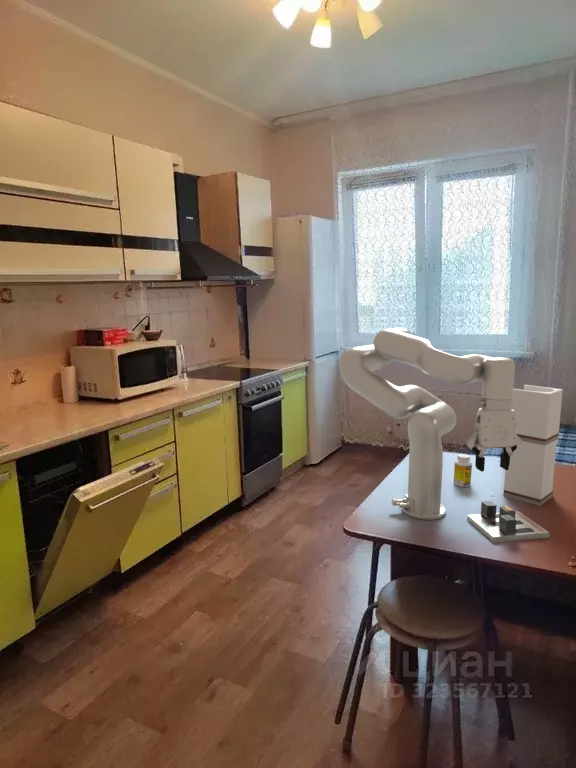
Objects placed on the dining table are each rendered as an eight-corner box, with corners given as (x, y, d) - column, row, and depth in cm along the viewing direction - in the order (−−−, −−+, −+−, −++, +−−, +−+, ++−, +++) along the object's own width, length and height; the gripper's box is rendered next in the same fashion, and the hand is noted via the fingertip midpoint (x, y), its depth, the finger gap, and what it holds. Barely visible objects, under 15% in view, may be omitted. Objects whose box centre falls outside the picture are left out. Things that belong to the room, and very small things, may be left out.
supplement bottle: (465, 488, 175) (467, 459, 173) (450, 484, 179) (452, 455, 177) (473, 484, 179) (475, 455, 177) (458, 480, 183) (460, 452, 181)
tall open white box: (552, 496, 169) (562, 389, 162) (540, 506, 161) (549, 393, 155) (517, 487, 177) (525, 384, 171) (503, 495, 169) (511, 388, 163)
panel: (492, 542, 138) (494, 522, 137) (466, 519, 151) (468, 501, 151) (548, 537, 140) (550, 518, 139) (518, 516, 154) (519, 498, 153)
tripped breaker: (505, 525, 144) (506, 510, 143) (498, 520, 147) (499, 506, 146) (514, 524, 144) (515, 510, 144) (508, 519, 147) (509, 505, 147)
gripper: (473, 408, 134) (468, 475, 137) (535, 406, 137) (529, 472, 140) (459, 402, 141) (455, 466, 144) (518, 400, 144) (513, 463, 147)
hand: (492, 468), depth 142 cm, fingers open, 6 cm apart
